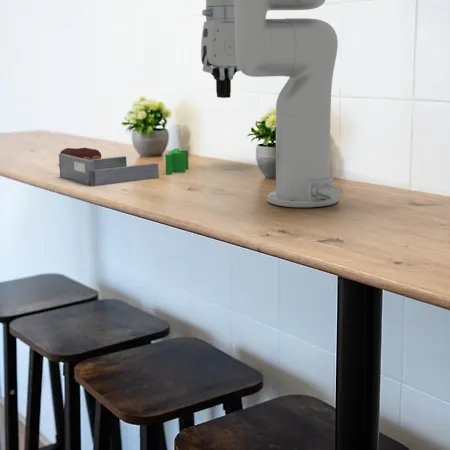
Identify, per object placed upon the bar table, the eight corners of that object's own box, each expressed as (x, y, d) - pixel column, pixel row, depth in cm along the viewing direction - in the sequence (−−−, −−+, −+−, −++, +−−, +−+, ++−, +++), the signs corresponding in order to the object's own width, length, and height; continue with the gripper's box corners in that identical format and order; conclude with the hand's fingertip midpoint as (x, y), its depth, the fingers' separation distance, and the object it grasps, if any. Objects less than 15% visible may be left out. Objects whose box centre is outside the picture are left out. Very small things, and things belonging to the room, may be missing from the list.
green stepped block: (182, 175, 170) (182, 155, 169) (165, 175, 170) (165, 155, 169) (190, 167, 181) (190, 147, 180) (174, 167, 181) (174, 147, 180)
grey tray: (158, 177, 166) (157, 154, 165) (90, 186, 157) (88, 161, 156) (124, 169, 178) (123, 147, 177) (59, 176, 169) (57, 154, 168)
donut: (105, 166, 185) (105, 149, 184) (64, 169, 181) (63, 152, 180) (96, 160, 194) (95, 145, 193) (57, 163, 190) (56, 147, 189)
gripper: (205, 14, 167) (206, 100, 172) (259, 14, 176) (259, 96, 180) (185, 15, 173) (187, 98, 178) (239, 15, 182) (239, 94, 186)
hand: (223, 97), depth 179 cm, fingers closed
